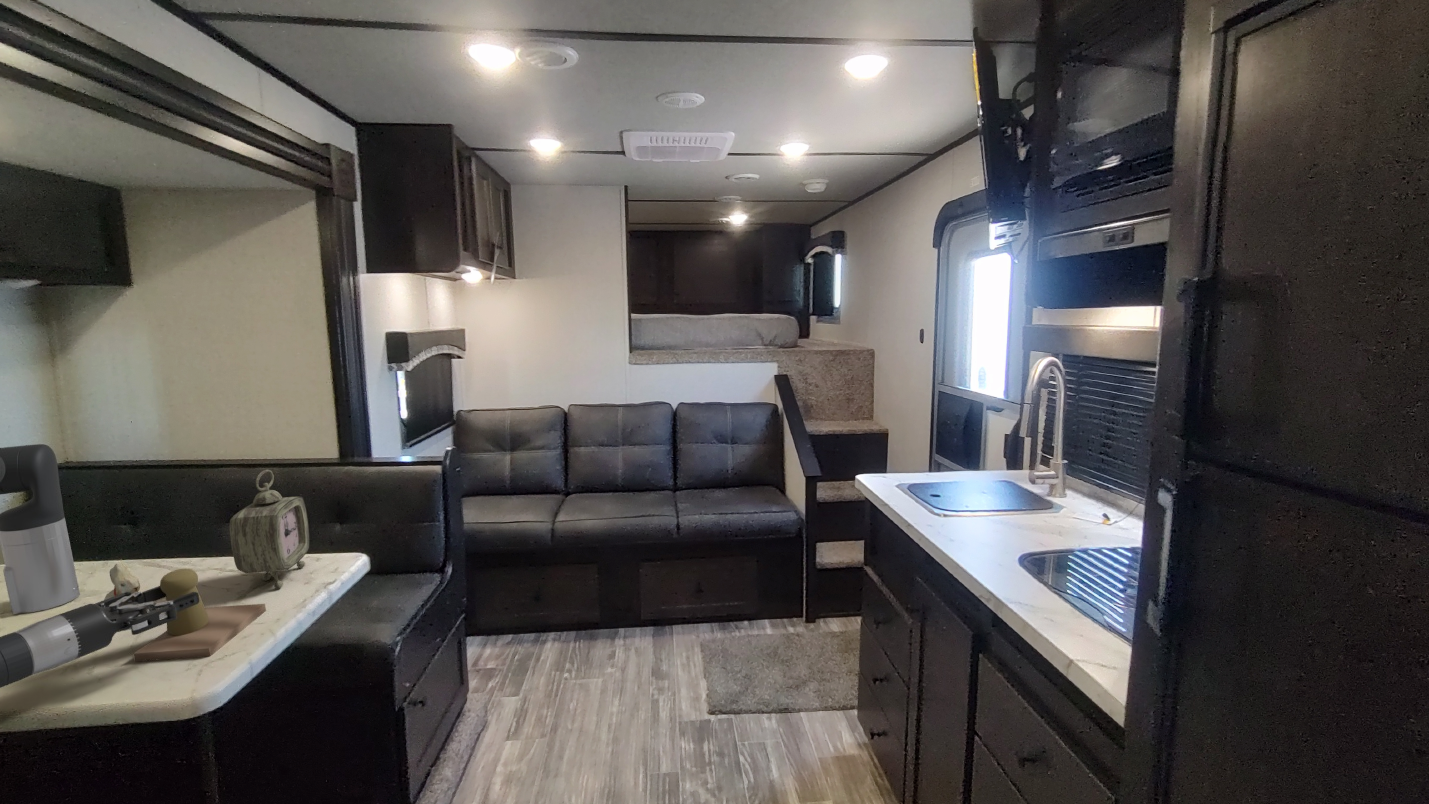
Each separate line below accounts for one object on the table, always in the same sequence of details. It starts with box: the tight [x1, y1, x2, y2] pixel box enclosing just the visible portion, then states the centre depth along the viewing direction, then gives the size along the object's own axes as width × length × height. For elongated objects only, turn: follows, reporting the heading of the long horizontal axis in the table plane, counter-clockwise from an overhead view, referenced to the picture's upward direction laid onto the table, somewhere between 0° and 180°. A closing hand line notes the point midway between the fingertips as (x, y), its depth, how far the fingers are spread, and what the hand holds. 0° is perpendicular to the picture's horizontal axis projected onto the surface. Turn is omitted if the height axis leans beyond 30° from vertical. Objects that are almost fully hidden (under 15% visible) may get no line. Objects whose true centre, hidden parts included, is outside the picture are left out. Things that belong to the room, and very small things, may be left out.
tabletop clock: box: [229, 469, 310, 590], centre depth 134 cm, size 14×9×25 cm, turn 12°
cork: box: [159, 568, 209, 636], centre depth 112 cm, size 6×6×11 cm
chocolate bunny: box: [103, 562, 141, 602], centre depth 123 cm, size 6×8×10 cm
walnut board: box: [133, 603, 267, 662], centre depth 114 cm, size 16×12×2 cm
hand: (183, 592), depth 110 cm, fingers open, 8 cm apart
